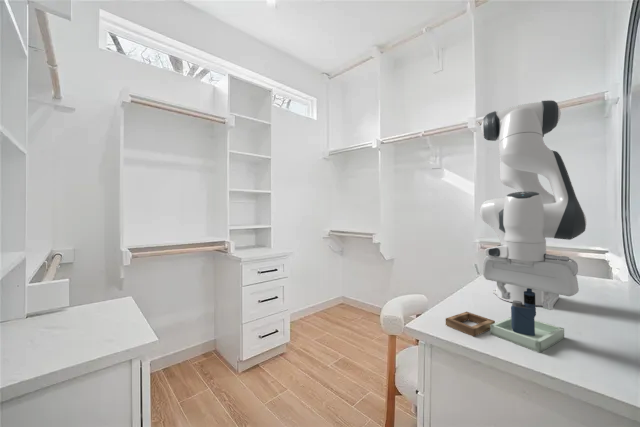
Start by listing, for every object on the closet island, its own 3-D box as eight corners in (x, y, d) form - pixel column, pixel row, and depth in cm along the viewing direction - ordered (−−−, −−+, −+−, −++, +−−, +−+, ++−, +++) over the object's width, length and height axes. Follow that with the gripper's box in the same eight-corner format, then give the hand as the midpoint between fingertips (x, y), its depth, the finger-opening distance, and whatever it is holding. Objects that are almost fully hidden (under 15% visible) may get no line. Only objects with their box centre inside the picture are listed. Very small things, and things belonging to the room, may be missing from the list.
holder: (466, 317, 80) (466, 311, 80) (494, 327, 73) (494, 320, 73) (445, 325, 75) (445, 318, 75) (473, 336, 68) (473, 329, 68)
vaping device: (537, 337, 66) (536, 290, 66) (512, 332, 68) (511, 288, 69) (535, 333, 68) (534, 288, 68) (511, 328, 71) (510, 285, 71)
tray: (516, 323, 76) (516, 314, 76) (564, 338, 66) (564, 328, 66) (490, 334, 69) (490, 325, 69) (539, 352, 59) (539, 342, 59)
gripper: (582, 255, 60) (584, 313, 60) (490, 247, 78) (492, 291, 78) (572, 259, 57) (573, 320, 57) (478, 249, 75) (480, 295, 75)
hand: (525, 303), depth 68 cm, fingers open, 8 cm apart
